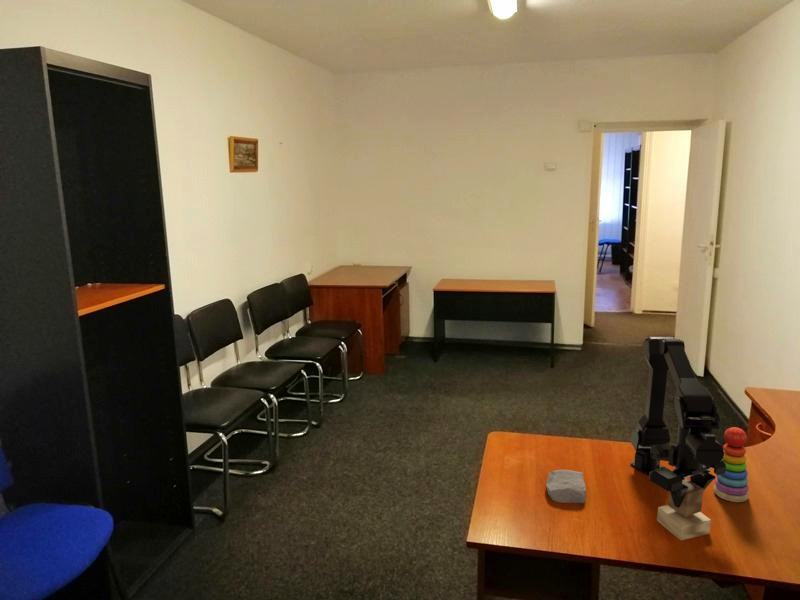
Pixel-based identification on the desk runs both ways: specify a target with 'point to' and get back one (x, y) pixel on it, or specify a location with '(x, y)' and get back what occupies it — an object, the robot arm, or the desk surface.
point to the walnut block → (689, 500)
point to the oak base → (683, 523)
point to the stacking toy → (733, 468)
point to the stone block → (566, 486)
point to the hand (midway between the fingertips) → (684, 503)
